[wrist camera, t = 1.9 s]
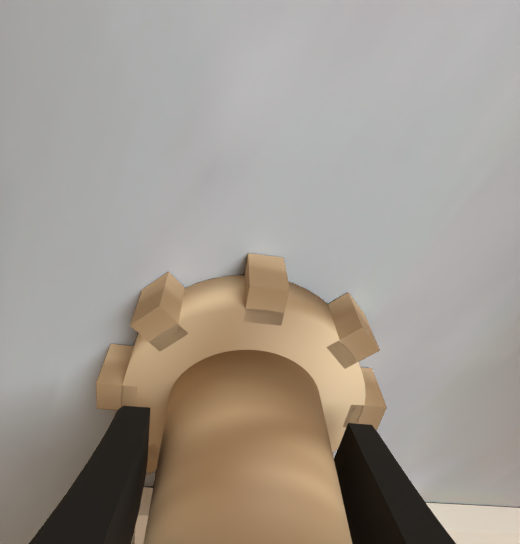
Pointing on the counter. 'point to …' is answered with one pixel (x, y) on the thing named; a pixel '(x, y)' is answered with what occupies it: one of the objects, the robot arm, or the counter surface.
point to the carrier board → (454, 518)
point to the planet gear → (245, 405)
